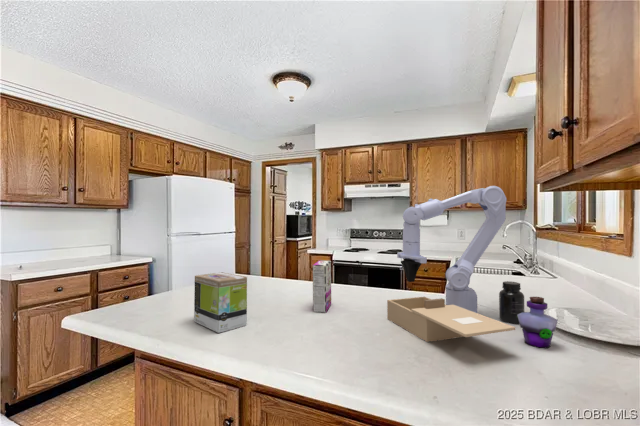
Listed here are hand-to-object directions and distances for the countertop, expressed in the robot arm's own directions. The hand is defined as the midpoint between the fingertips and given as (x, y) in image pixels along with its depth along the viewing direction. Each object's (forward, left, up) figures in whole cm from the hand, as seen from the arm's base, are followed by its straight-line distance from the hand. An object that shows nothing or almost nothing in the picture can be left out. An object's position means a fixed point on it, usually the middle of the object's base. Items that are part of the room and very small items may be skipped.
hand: (410, 281), depth 109 cm
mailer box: (+5, +14, -10) cm, 18 cm away
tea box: (+63, -8, -11) cm, 64 cm away
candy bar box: (+28, -14, -11) cm, 33 cm away
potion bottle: (-14, +34, -11) cm, 39 cm away
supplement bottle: (-24, +18, -11) cm, 32 cm away
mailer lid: (+5, +28, -4) cm, 28 cm away
